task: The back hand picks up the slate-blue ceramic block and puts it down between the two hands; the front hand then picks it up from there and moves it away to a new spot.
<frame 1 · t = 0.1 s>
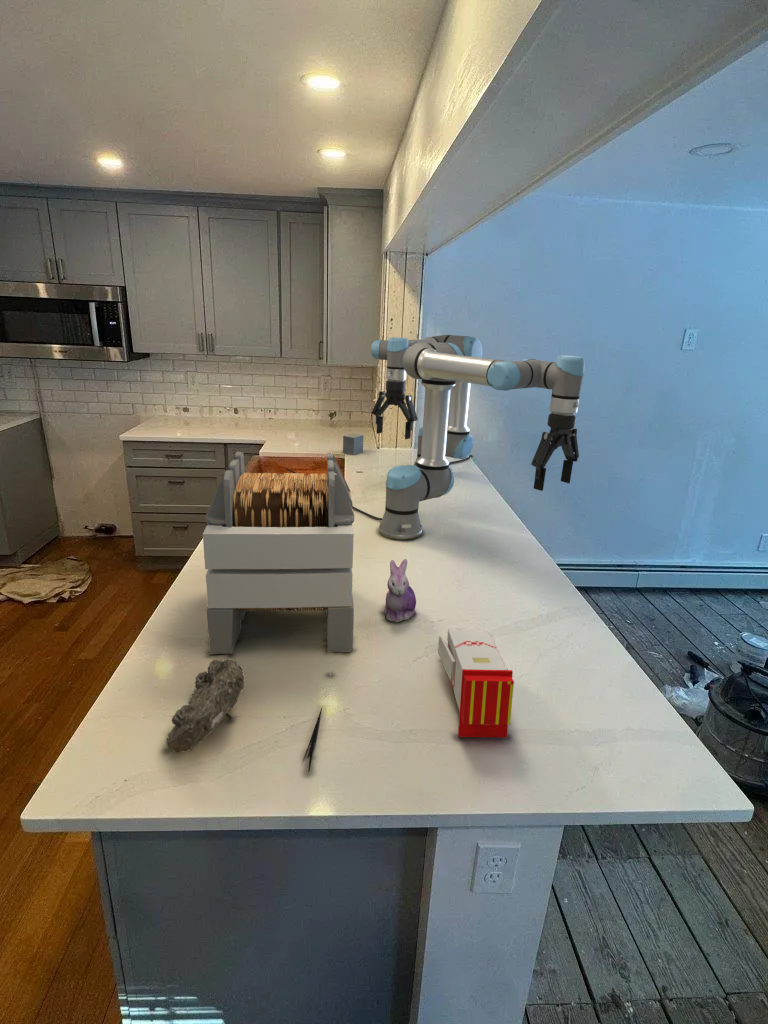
front hand: (551, 485, 166), 28 cm above the counter, tool pointing down, fingers open, 13 cm apart
back hand: (393, 435, 221), 28 cm above the counter, tool pointing down, fingers open, 13 cm apart
block: (352, 452, 309), on the counter
figurine: (399, 614, 147), on the counter
record crate stand: (285, 616, 144), on the counter
toy: (469, 691, 119), on the counter
fossil: (212, 717, 108), on the counter
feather: (319, 719, 109), on the counter
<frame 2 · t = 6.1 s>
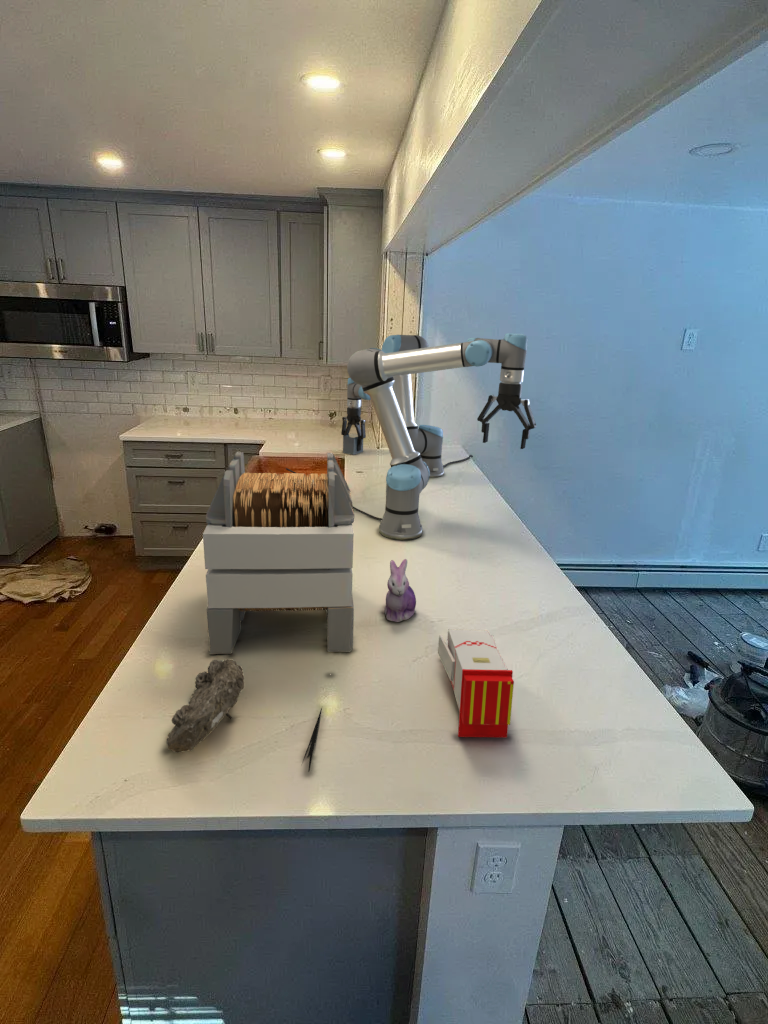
front hand: (503, 445, 195), 32 cm above the counter, tool pointing down, fingers open, 13 cm apart
back hand: (353, 449, 308), 2 cm above the counter, tool pointing down, fingers closed on block, 7 cm apart
block: (352, 452, 309), on the counter, touching back hand
everything else where it was.
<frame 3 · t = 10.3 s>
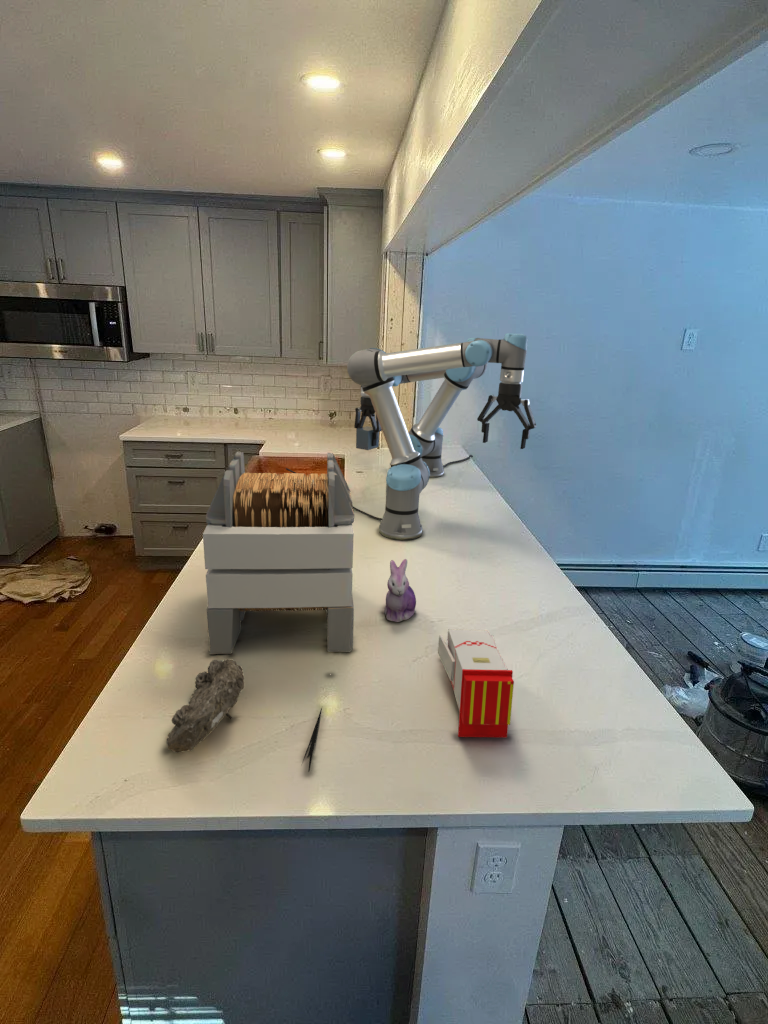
front hand: (503, 445, 195), 32 cm above the counter, tool pointing down, fingers open, 13 cm apart
back hand: (367, 444, 274), 12 cm above the counter, tool pointing down, fingers closed on block, 7 cm apart
block: (367, 447, 274), point 11 cm above the counter, touching back hand
everything else where it was.
when the back hand's fingers open (3 cm above the counter, at t = 14.6 s): block drops 2 cm, on the counter.
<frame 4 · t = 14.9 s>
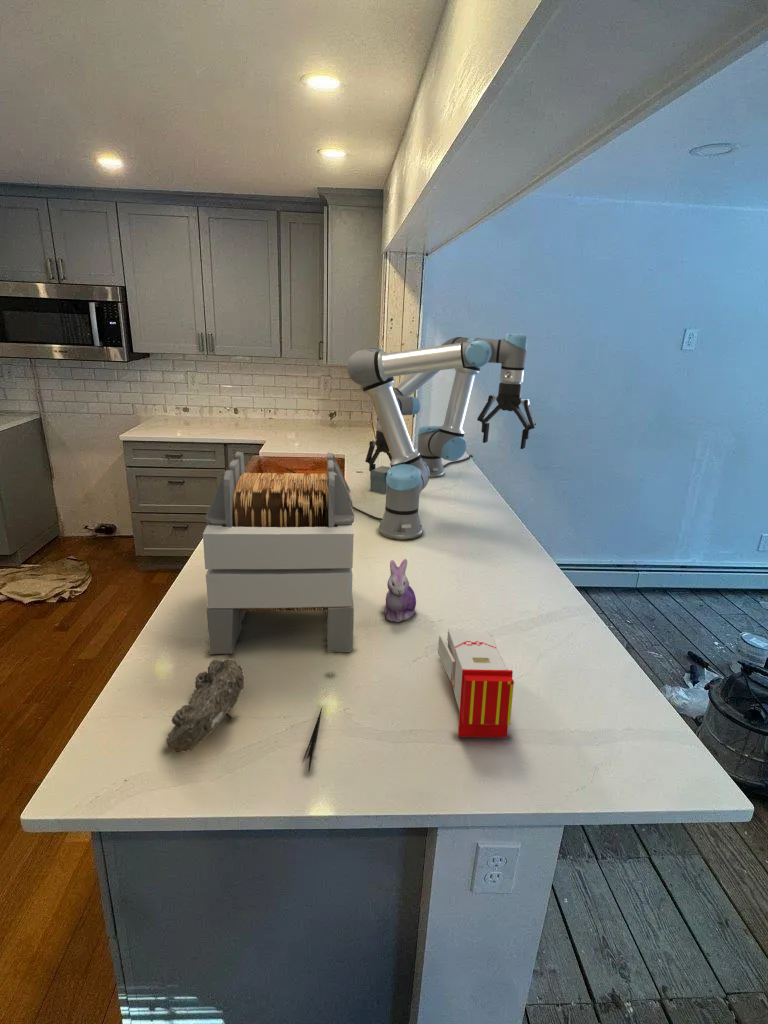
front hand: (503, 445, 195), 32 cm above the counter, tool pointing down, fingers open, 13 cm apart
back hand: (382, 481, 246), 4 cm above the counter, tool pointing down, fingers open, 10 cm apart
block: (382, 489, 247), on the counter
everything else where it was.
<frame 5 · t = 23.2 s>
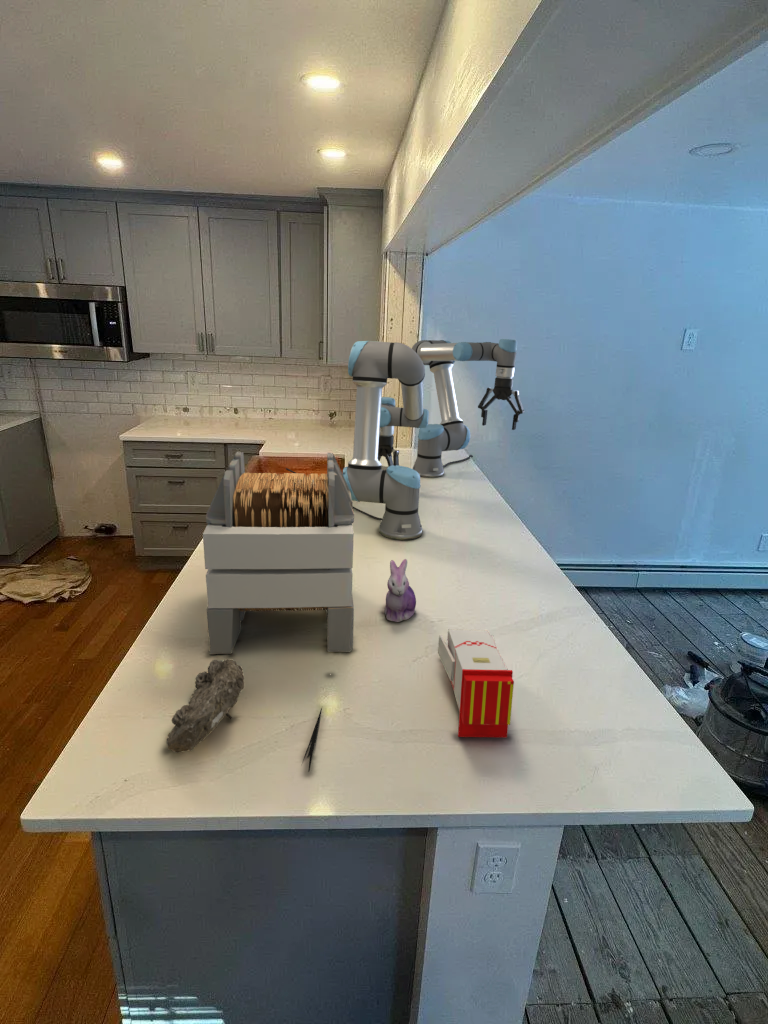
front hand: (382, 486, 247), 2 cm above the counter, tool pointing down, fingers closed on block, 7 cm apart
back hand: (498, 427, 247), 28 cm above the counter, tool pointing down, fingers open, 13 cm apart
block: (382, 489, 247), on the counter, touching front hand
everything else where it was.
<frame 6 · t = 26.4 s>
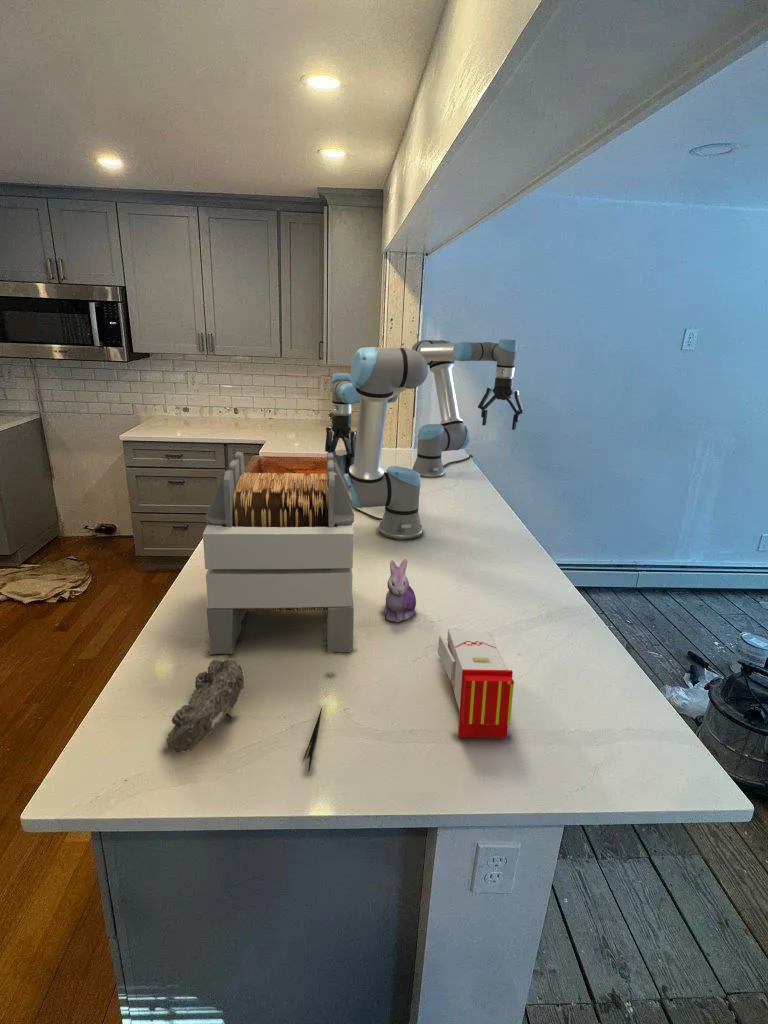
front hand: (340, 471, 227), 12 cm above the counter, tool pointing down, fingers closed on block, 7 cm apart
back hand: (498, 427, 247), 28 cm above the counter, tool pointing down, fingers open, 13 cm apart
block: (340, 475, 227), point 11 cm above the counter, touching front hand
everything else where it was.
when the front hand's fingers open (3 cm above the counter, at t = 30.0 s): block drops 2 cm, on the counter.
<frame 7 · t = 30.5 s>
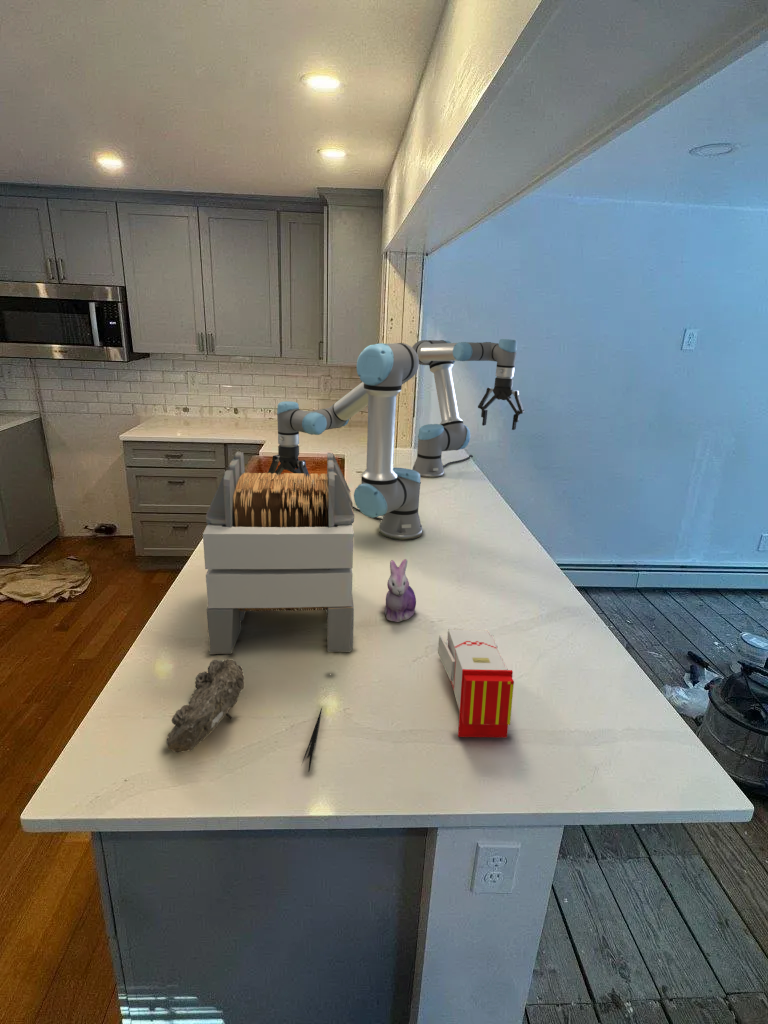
front hand: (289, 500, 213), 5 cm above the counter, tool pointing down, fingers open, 13 cm apart
back hand: (498, 427, 247), 28 cm above the counter, tool pointing down, fingers open, 13 cm apart
block: (289, 513, 215), on the counter
everything else where it was.
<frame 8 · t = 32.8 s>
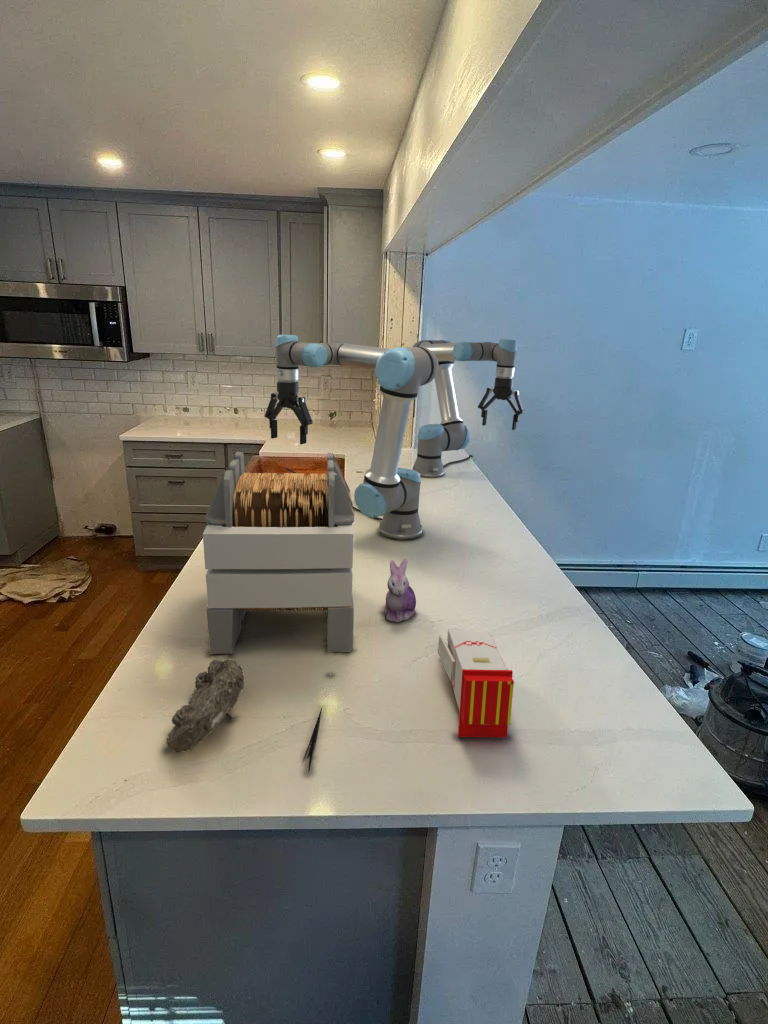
front hand: (288, 440, 205), 28 cm above the counter, tool pointing down, fingers open, 13 cm apart
back hand: (498, 427, 247), 28 cm above the counter, tool pointing down, fingers open, 13 cm apart
nothing on the counter moved.
at the end: block inside the target area (0.1 cm from its centre), on the counter; block tilted 0°; the two hands never held the block at the same time; the front hand is holding nothing; the back hand is holding nothing; block at rest at the end (0.0 cm/s) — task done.
